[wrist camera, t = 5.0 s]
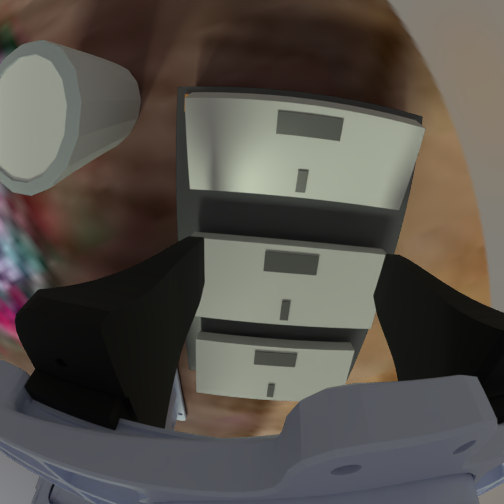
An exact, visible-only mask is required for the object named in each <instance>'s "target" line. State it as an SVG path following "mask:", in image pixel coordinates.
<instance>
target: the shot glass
mask: <svg viewBox="0 0 504 504" xmlns="http://www.w3.org/2000/svg"><path fill="white" fill-rule="evenodd" d="M140 104H141V97H140V92H139V87H138V83H137V81H136V80H135V78H134V77H133V76H132V74H131V73H130V71H129V70H128V69H126V68H124V67H122V66H120V65H118V64H116V63H114V62H111V61H108V60H106V59H103V58H100V57H97V56H94V55H91V54H88V53H85V52H82V51H79V50H76V49H73V48H69V47H66V46H63V45H59V44H56V43H52V42H49V41H45V40H40V41H35V42H30V43H26V44H22V45H21V46H19V47H18V48H17V49H16V50H14V51H13V52H12V53H11V54H9V55H8V56H7V57H6V58H5V59H4V60H3V61H2V63H1V64H0V182H1V183H3V184H4V185H5V186H6V187H7V188H8V189H10V190H11V191H12V192H15V193H20V194H25V195H30V196H32V195H34V194H37V193H39V192H41V191H44V190H46V189H49V188H51V187H52V186H54V185H55V184H57V183H58V182H59V181H61V180H62V179H64V178H65V177H67V176H68V175H70V174H71V173H73V172H74V171H76V170H78V169H79V168H81V167H82V166H84V165H85V164H87V163H89V162H90V161H92V160H94V159H95V158H97V157H99V156H100V155H102V154H104V153H105V152H107V151H109V150H111V149H112V148H114V147H116V146H117V145H119V144H120V143H121V142H122V141H123V140H124V139H125V138H126V137H127V136H129V135H130V133H131V131H132V129H133V127H134V125H135V123H136V122H137V120H138V117H139V110H140Z"/></svg>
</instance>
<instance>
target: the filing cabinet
mask: <svg viewBox="0 0 504 504" xmlns="http://www.w3.org/2000/svg"><path fill="white" fill-rule="evenodd" d="M192 92H225V93H250V94H265V95H278V96H288V97H297V98H306V99H313V100H320V101H327V102H334V103H340V104H346V105H351V106H356V107H362V108H367V109H371V110H376V111H381V112H385V113H389V114H393V115H398V116H401V117H405V118H409V119H413V120H416V121H417V122H419V123H420V124H421V125H422V118H423V117H422V116H418V115H415V114H411V113H408V112H404V111H400V110H396V109H392V108H388V107H384V106H379V105H375V104H370V103H365V102H360V101H355V100H350V99H344V98H339V97H333V96H326V95H319V94H312V93H305V92H296V91H287V90H276V89H263V88H247V87H178V95H177V125H176V198H177V229H178V242H179V241H180V240H182V239H184V238H186V237H188V236H191V235H192V234H193V233H194V232H204V233H216V234H228V235H240V236H252V237H263V238H275V239H286V240H297V241H308V242H318V243H329V244H339V245H349V246H359V247H369V248H379V249H383V250H384V251H385V252H386V253H387V254H394V252H395V249H396V245H397V242H398V238H399V234H400V231H401V227H402V223H403V219H404V215H405V211H406V206H407V202H408V198H409V193H410V189H411V184H412V179H413V174H414V169H415V165H414V169H413V172H412V175H411V178H410V181H409V184H408V186H407V189H406V192H405V195H404V198H403V201H402V203H401V206H400V209H399V210H394V209H387V208H380V207H373V206H366V205H358V204H351V203H343V202H335V201H326V200H317V199H308V198H299V197H289V196H278V195H267V194H255V193H243V192H229V191H214V190H196V189H190V184H189V170H188V155H187V138H186V118H185V98H186V97H187V96H188V95H189V94H190V93H192ZM415 163H416V162H415ZM199 331H202V332H210V333H218V334H227V335H237V336H247V337H259V338H271V339H285V340H301V341H321V342H351V344H352V346H353V348H354V355H353V358H352V362H351V366H350V369H349V373H348V376H347V379H348V377H349V375H350V372H351V370H352V368H353V366H354V363H355V361H356V359H357V356H358V354H359V352H360V349H361V347H362V344H363V342H364V339H365V337H366V334H367V332H368V329H355V328H329V327H310V326H294V325H280V324H267V323H255V322H244V321H234V320H224V319H215V318H206V317H198V316H195V317H194V319H193V322H192V324H191V327H190V329H189V332H188V335H187V337H186V347H187V356H188V364H189V369H190V370H196V338H197V335H198V333H199ZM346 381H347V380H346Z"/></svg>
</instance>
